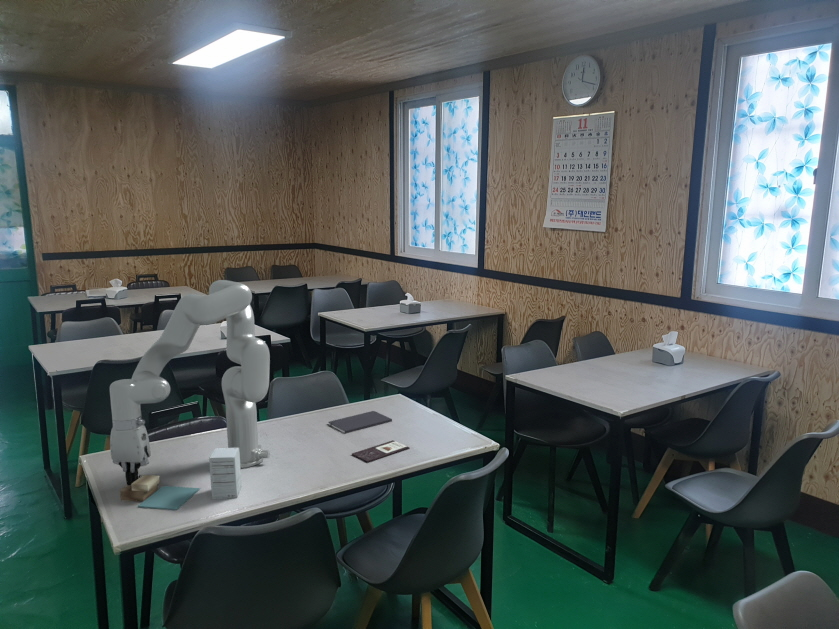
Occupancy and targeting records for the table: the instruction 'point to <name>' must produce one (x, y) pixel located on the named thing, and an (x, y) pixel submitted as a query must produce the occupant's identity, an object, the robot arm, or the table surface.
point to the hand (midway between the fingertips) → (132, 483)
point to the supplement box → (225, 473)
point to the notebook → (359, 422)
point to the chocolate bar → (380, 451)
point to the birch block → (145, 483)
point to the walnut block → (136, 494)
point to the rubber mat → (169, 497)
